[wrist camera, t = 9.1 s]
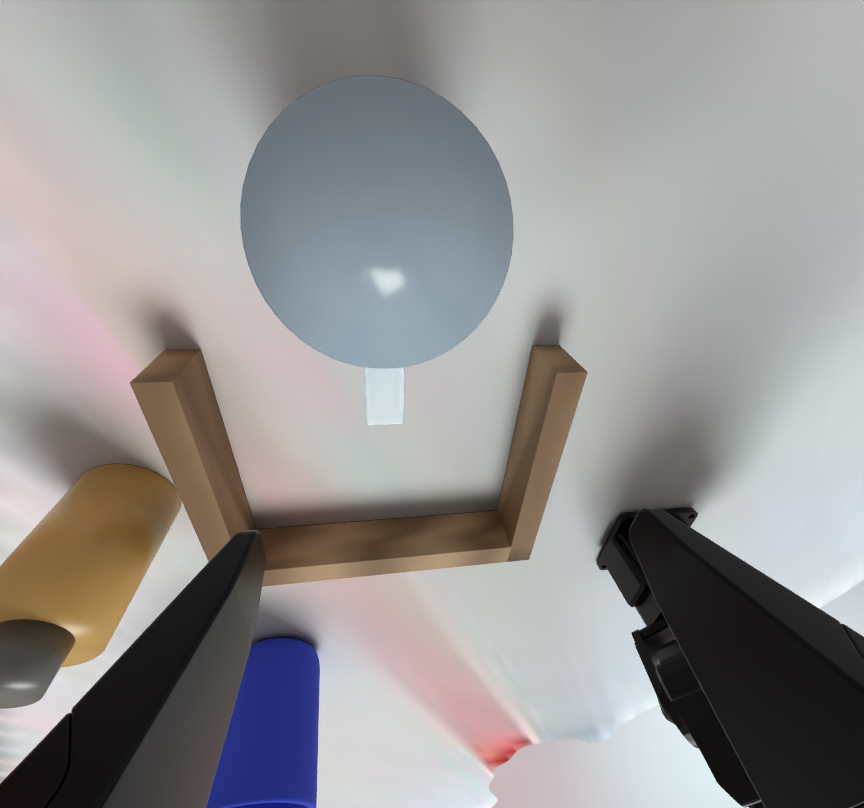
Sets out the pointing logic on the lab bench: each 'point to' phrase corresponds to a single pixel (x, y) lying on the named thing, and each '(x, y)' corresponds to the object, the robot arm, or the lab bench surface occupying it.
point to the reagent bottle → (78, 575)
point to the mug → (272, 731)
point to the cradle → (365, 540)
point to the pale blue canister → (377, 227)
